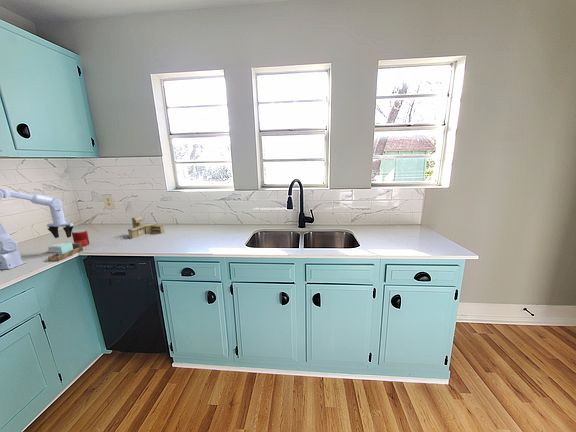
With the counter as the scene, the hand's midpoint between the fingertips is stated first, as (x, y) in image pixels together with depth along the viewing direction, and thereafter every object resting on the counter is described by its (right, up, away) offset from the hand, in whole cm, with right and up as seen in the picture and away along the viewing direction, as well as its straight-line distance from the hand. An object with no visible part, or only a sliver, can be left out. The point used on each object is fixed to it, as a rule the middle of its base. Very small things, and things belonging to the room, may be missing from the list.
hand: (63, 237), depth 156 cm
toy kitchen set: (+34, -2, +35) cm, 49 cm away
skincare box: (-10, -7, +3) cm, 13 cm away
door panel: (+7, -10, -5) cm, 13 cm away
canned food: (+1, -7, +14) cm, 16 cm away
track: (+7, -11, -4) cm, 14 cm away
